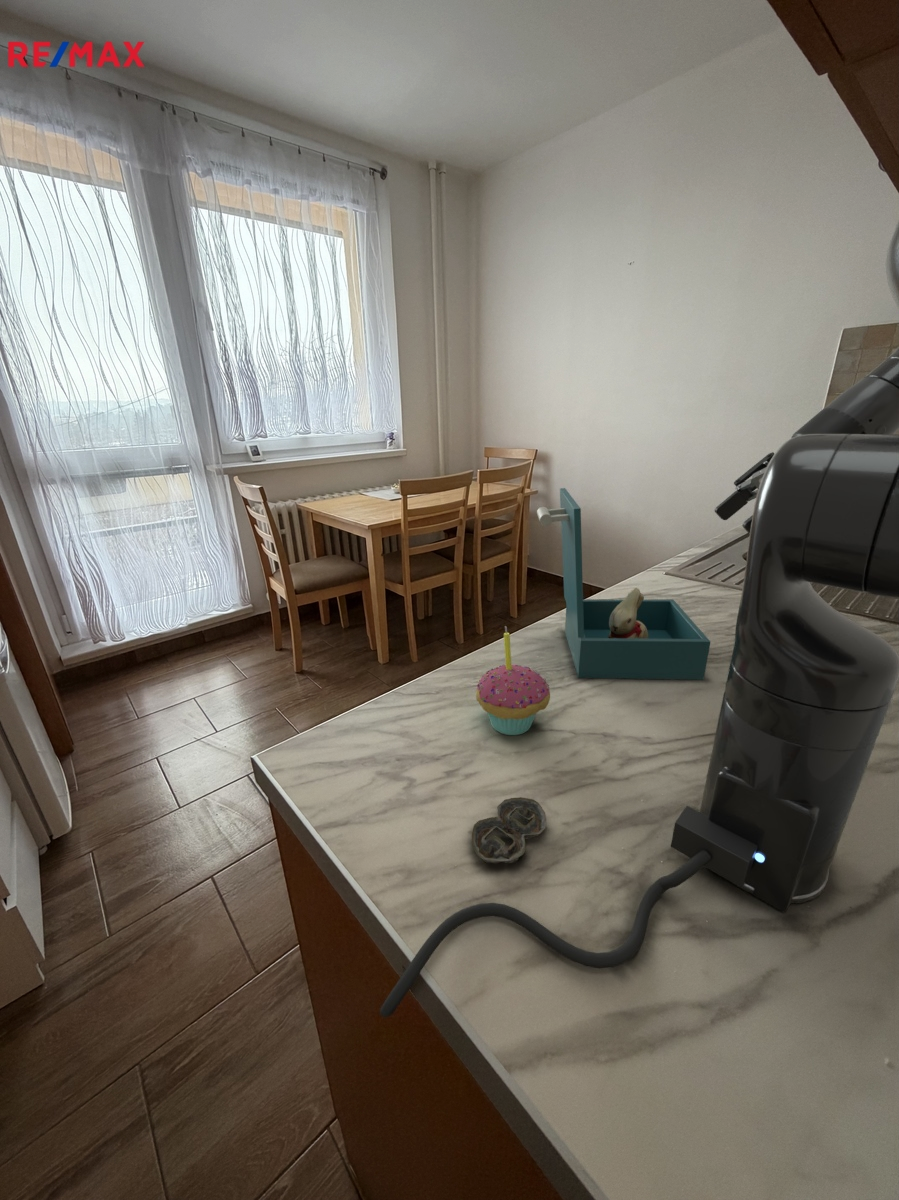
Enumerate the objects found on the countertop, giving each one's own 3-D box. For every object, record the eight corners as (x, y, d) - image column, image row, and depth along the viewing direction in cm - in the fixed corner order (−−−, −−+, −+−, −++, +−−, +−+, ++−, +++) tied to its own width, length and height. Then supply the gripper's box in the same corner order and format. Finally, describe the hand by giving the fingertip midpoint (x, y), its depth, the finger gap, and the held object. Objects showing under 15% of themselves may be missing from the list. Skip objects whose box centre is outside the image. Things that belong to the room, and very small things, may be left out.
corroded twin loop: (558, 823, 44) (559, 815, 43) (503, 883, 39) (503, 873, 38) (514, 795, 47) (514, 787, 47) (458, 846, 42) (457, 838, 42)
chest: (668, 632, 78) (673, 599, 76) (703, 679, 65) (710, 641, 63) (564, 631, 80) (566, 599, 78) (578, 677, 67) (580, 640, 64)
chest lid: (565, 487, 71) (533, 491, 72) (580, 508, 58) (541, 512, 58) (569, 596, 78) (540, 598, 78) (584, 637, 64) (549, 639, 65)
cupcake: (466, 711, 60) (463, 625, 56) (527, 696, 63) (529, 612, 58) (494, 754, 53) (494, 658, 48) (562, 735, 55) (568, 642, 51)
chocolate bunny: (594, 644, 74) (599, 583, 70) (639, 636, 76) (647, 576, 72) (614, 661, 69) (620, 596, 65) (662, 653, 71) (671, 589, 67)
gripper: (797, 405, 64) (694, 493, 70) (873, 406, 51) (739, 515, 57) (829, 445, 66) (726, 529, 71) (912, 456, 53) (777, 558, 58)
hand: (732, 523), depth 64 cm, fingers open, 8 cm apart
